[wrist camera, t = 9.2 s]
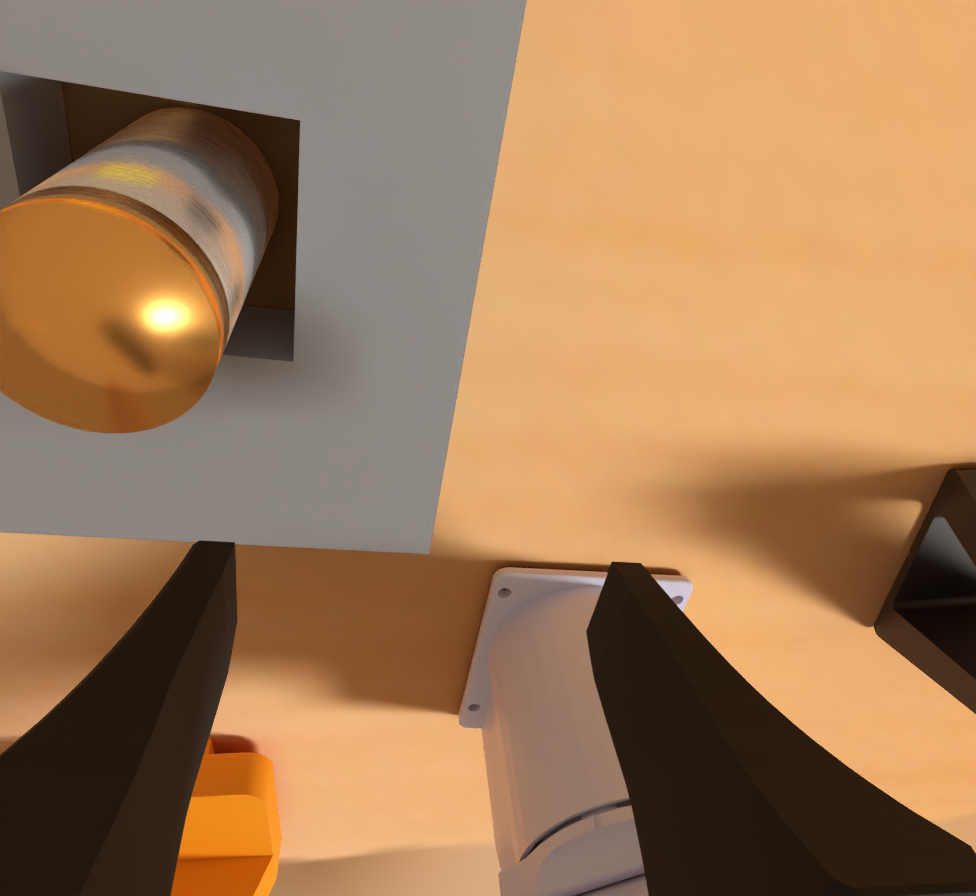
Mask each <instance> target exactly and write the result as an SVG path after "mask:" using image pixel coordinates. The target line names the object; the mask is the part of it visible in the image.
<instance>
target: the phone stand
mask: <svg viewBox="0 0 976 896" xmlns="http://www.w3.org/2000/svg"><path fill="white" fill-rule="evenodd" d="M910 553H911V557H907V558H906V559H905V561H904V563H903V565H902V567H901V569H900V572H899V574H898V576H897V578H896V580H895V582H894V584H893V586H892V588H891V590H890V592H889V594H888V596H887V599H886V601H885V603H884V605H883V607H882V609H881V611H880V613H879V615H878V617H877V619H876V621H875V623H874V629H875V632H876V634H877V635H878V636H879V637H880V638H881V639H882V640H884V641H885V642H886V643H887V644H889V645H890V646H891V647H892V648H894V649H895V650H896V651H897V652H899V653H900V654H901V655H902V656H904V657H905V658H906V659H907V660H909V661H910V662H911V663H912V664H914V665H915V666H916V667H917V668H919V669H920V670H921V671H923V672H924V673H925V674H926V675H928V676H929V677H930V678H931V679H933V680H934V681H935V682H936V683H938V684H939V685H940V686H941V687H943V688H944V689H945V690H946V691H948V692H949V693H950V694H951V695H953V696H954V697H955V698H956V699H958V700H959V701H960V702H961V703H963V704H964V705H965V706H966V707H968V708H969V709H970V710H971V711H973V712H974V713H975V714H976V469H962V470H950V471H948V472H947V474H946V476H945V478H944V480H943V482H942V484H941V486H940V489H939V491H938V493H937V495H936V497H935V499H934V501H933V503H932V505H931V507H930V509H929V511H928V513H927V516H926V518H925V520H924V522H923V524H922V526H921V528H920V530H919V532H918V534H917V536H916V538H915V540H914V542H913V545H912V547H911V549H910Z"/></svg>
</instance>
